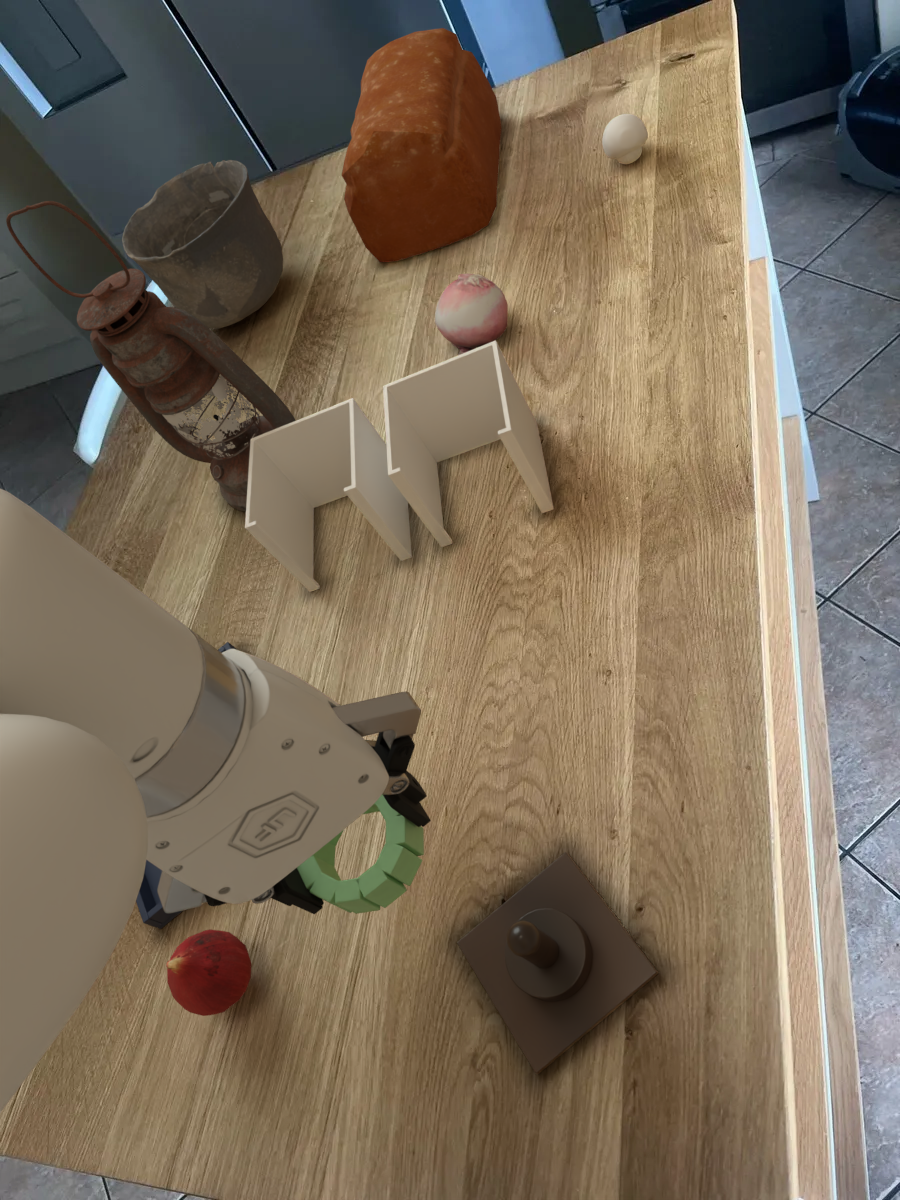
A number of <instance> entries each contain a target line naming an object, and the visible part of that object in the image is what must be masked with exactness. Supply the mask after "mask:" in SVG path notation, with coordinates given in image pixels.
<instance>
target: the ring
mask: <svg viewBox="0 0 900 1200" xmlns="http://www.w3.org/2000/svg"><path fill="white" fill-rule="evenodd" d="M378 812H379V813H380V815H381V816H382V818H383V820H384V821H385V844H383V847H382V849H381V851H380V854H379V855H378V857H377V859H376V861H375V863H374V864H372V865H371V866H370V867H369V868H368V869H366V870H365V871H364V872H363V873H361V874H360V875H359V876H358V877H355V878H349V879H341V877H340V875H339V872H338V871H337V869H336V867H335V866H336V865H335V864H336V863H335V861H336V846H337V844H338V842H339V841H340V838H341V837H342V835H343V832H344V830H345V829H344V830H343V831H342V832H340V833H339V834H338V835H337V836H336V837H334V838H333V839H332V840H331V841H329V842H328V843H327V844H326V845H324V846H323V847H322V848H321V849H320V850H318V851H317V852H316V853H315V854H313V855H312V856H311V857H310V858H308V859H307V860H306V861H304V862H303V863H302V864H301V865H299V866H298V867H297V869H298V871H299V873H300V876H301V878H302V880H303V882H304V884H305V886H306V888H307V889H309V890H310V893H312V894H314V895H315V896H317V897H319V898H321V899H322V900H323V901H325V902H327V903H329V904H330V905H333V906H335V907H337V908H339V909H341V910H343V911H345V912H347V913H350V914H351V913H354V914H355V915H357V914H363V913H370V912H371V913H372V912H377V911H378V912H379V911H381V907H382V908H384V909H386V908H387V907H389V906H390V905H391V904H392V903H394V902H395V901H396V900H398V899H399V898H400V897H402V895H404V894H405V893H406V892H407V891H408V889H407V888H406V886H408V887H411V886H412V883H413V882H414V879H415V877H416V875H417V873H418V871H419V869H420V867H421V865H422V863H423V859H422V858H421V857H422V856H425V844H424V843H425V840H424V839H425V838H424V837H425V835H424V833H425V832H424V831H425V830H424V827H422V826H420V827H418V826H416V825H415V824H413V823H412V822H411V821H409V820H408V819H406V818H405V817H404V816H402V815H401V814H399V813H398V812H397V811H395V810H394V809H392V808H391V807H390V806H389V804H388V803H387V801H386V799H385V798H384V796H383V795H381V796H380V797H379V799H378V800H377V801H376V802H375V803H374V804H373V805H372V806H371V807H370V808H369V809H368V810H367V811H366V812H364V813H363V814H362V815H361V816H363V815H368V814H373V813H378Z"/></svg>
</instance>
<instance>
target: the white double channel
mask: <svg viewBox="0 0 900 1200" xmlns="http://www.w3.org/2000/svg"><path fill="white" fill-rule="evenodd" d="M382 393H383V395H382V397H383V411H384V412H383V413H384V429H385V440H384V439H383V437H382V436H381V435H380V434H379V432H378V430H377V429H376V427H374V425H373V424H372V422H371V421H370V418H368V416H367V415H366V414H365V412H364V411H363V409H362V408H361V406H360V405H359V404H358V403H357V401H356V399H355V398H354V397H351V398H349V399H346V400H344V401H341V402H338V403H336V404H334V405H331V406H329V407H327V408H324V409H322V410H319V411H317V412H313V413H311V414H309V415H306V416H304V417H301V418H299V419H297V420H296V419H295V420H296V421H294V422H291V423H289V424H286V425H284V426H281V427H279V428H277V429H274V430H272V431H269V432H267V433H264V434H262V435H259V436H257V437H254V438H252V439H251V440H250V456H249V472H248V487H247V503H246V511H245V519H244V521H245V522H244V529H245V530H246V531H247V532H248V533H249V534H250V535H251V536H253V538H254V539H255V540H256V541H257V542H258V543H259V544H260V545H261V546H262V547H264V549H265V550H266V551H268V553H270V555H271V556H273V558H275V560H277V562H279V564H281V565H282V566H283V567H284V568H285V569H286V570H287V571H288V572H289V574H291V575H292V576H293V577H294V578H295V579H296V580H297V582H299V583H300V584H301V585H302V586H303V587H304V588H305V589H306V590H307V591H308V592H309V593H311V592H313V591H317V590H320V589H321V584H320V583H318V581H316V580H315V578H314V555H315V554H314V551H315V550H314V547H315V546H314V541H315V539H314V538H315V537H314V536H315V535H314V533H315V532H314V531H315V508H318V507H321V506H323V505H326V504H329V503H331V502H335V501H337V500H340V499H342V498H345V497H348V498H349V499H350V501H351V502H352V503H353V504H354V506H355V507H356V508H357V509H358V510H359V512H360V513H361V514H362V516H363V517H364V518H365V519H366V520H367V522H368V523H369V524H370V525H371V526H372V527H373V529H374V530H375V531H376V532H377V534H378V535H379V536H380V538H381V539H382V540H383V541H384V543H386V544H387V546H388V547H389V548H390V549H391V551H392V552H393V553H394V554H395V556H397V559H399V560H400V561H401V562H402V561H405V560H408V559H412V558H413V554H412V540H411V527H410V526H411V525H410V524H411V523H410V513H409V511H410V510H409V506H410V507H411V508H412V510H413V511H414V513H416V515H417V516H418V518H419V519H420V521H421V522H422V523H423V524H424V526H425V527H426V528H427V530H428V531H429V533H430V534H431V535H432V536H433V538H434V540H435V541H436V542H437V543H438V544H439V546H440V548H444V547H447V546H450V545H453V539H452V538H451V536H450V535H449V534H448V532H447V531H446V530H445V528H444V527H445V526H444V519H443V507H442V500H441V488H440V487H441V486H440V478H439V470H438V469H439V468H438V463H440V462H443V461H446V460H448V459H451V458H454V457H456V456H459V455H462V454H465V453H467V452H471V451H472V450H475V449H478V448H481V447H483V446H486V445H489V444H491V443H495V442H497V441H501V442H502V444H503V446H504V448H505V450H506V452H507V453H508V455H509V457H510V459H511V460H512V462H513V464H514V466H515V467H516V469H517V471H518V473H519V475H520V477H521V478H522V480H523V482H524V484H525V486H526V487H527V489H528V491H529V493H530V494H531V496H532V499H534V502H535V503H536V505H537V506H538V509H539V511H540V512H541V514H544V513H548V512H550V511H553V510H555V507H554V503H553V497H552V493H551V492H552V491H551V489H550V482H549V478H548V477H549V476H548V472H547V467H546V462H545V457H544V451H543V447H542V441H541V437H540V431H539V427H538V422H537V419H536V418H535V415H534V414H533V412H532V410H531V408H530V406H529V404H528V402H527V400H526V398H525V395H524V393H523V391H522V390H521V388H520V386H519V384H518V381H517V379H516V378H515V375H514V374H513V372H512V369H511V368H510V366H509V363H508V362H507V360H506V358H505V355H504V353H503V352H502V349H501V347H500V345H499V343H498V342H497V340H495V341H493V342H490V343H488V344H485V345H483V346H480V347H477V348H475V349H473V350H470V351H468V352H466V353H463V354H461V355H458V354H457V355H455V356H453V357H451V358H448V359H445V360H443V361H441V362H438V363H436V364H433V365H431V366H428V367H426V368H423V369H421V370H418V371H416V372H413V373H411V374H409V375H406V376H403V377H401V378H399V379H396V380H393V381H391V382H389V383H386V384H384V385H382Z"/></svg>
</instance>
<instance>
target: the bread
mask: <svg viewBox="0 0 900 1200" xmlns="http://www.w3.org/2000/svg"><path fill="white" fill-rule="evenodd" d="M459 39H460V38H459V37H458V34H457V33H455V32H454V31H451V30H449V29H447V28H444V27H439V28H433V29H426V30H418V31H413V32H411V33H408V34H406V35H403V36H401V37H399V38H396V39H394V40H391V41H389V42H388V43H386V44H385V45H382V47H380V48H379V49H377V50H376V51H375V52H373V53H372V55H371V56H370V57H368V59H367V60H366V64H365V67H364V70H363V73H362V77H361V79H360V97H359V99H358V102H357V106H356V109H355V111H354V119H353V121H352V124H351V128H350V136H351V139H350V141H349V143H348V145H347V148H346V152H345V157H344V160H343V165H342V171H341V177H342V179H343V181H344V183H345V190H344V198H343V200H344V204H345V207H346V209H347V213H348V215H349V217H350V219H351V222H352V223H353V225H354V227H355V229H356V231H357V233H358V235H359V237H360V239H361V241H362V243H363V245H364V247H365V249H367V251H368V252H369V253H370V254H371V255H372V257H374V258H375V259H376V260H377V261H378V262H379V263H393V262H399V261H403V260H405V259H408V258H412V257H415V256H416V257H417V256H419V255H422V254H425V253H428V252H431V251H434V250H437V249H441V248H443V247H447V246H449V245H453V244H454V243H457V242H460V241H462V240H464V239H466V238H469V237H472V236H474V235H475V234H477V233H479V232H480V231H482V230H483V229H485V228H486V227H488V226H489V225H490V222H491V221H492V218H493V216H494V214H495V211H496V209H497V207H498V183H499V172H500V171H499V170H500V156H501V155H500V153H501V139H502V119H501V113H500V110H499V104H498V99H497V95H496V93H495V91H494V89H493V87H492V85H491V83H490V82H489V80H488V77H487V75H486V74H485V72H484V70H483V69H482V66H481V65H480V63H479V61H478V60H477V58H476V56H475V55H474V53H473V52H472V51H469V50H466V49H463V47H462V44H461V42H460V40H459Z"/></svg>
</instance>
